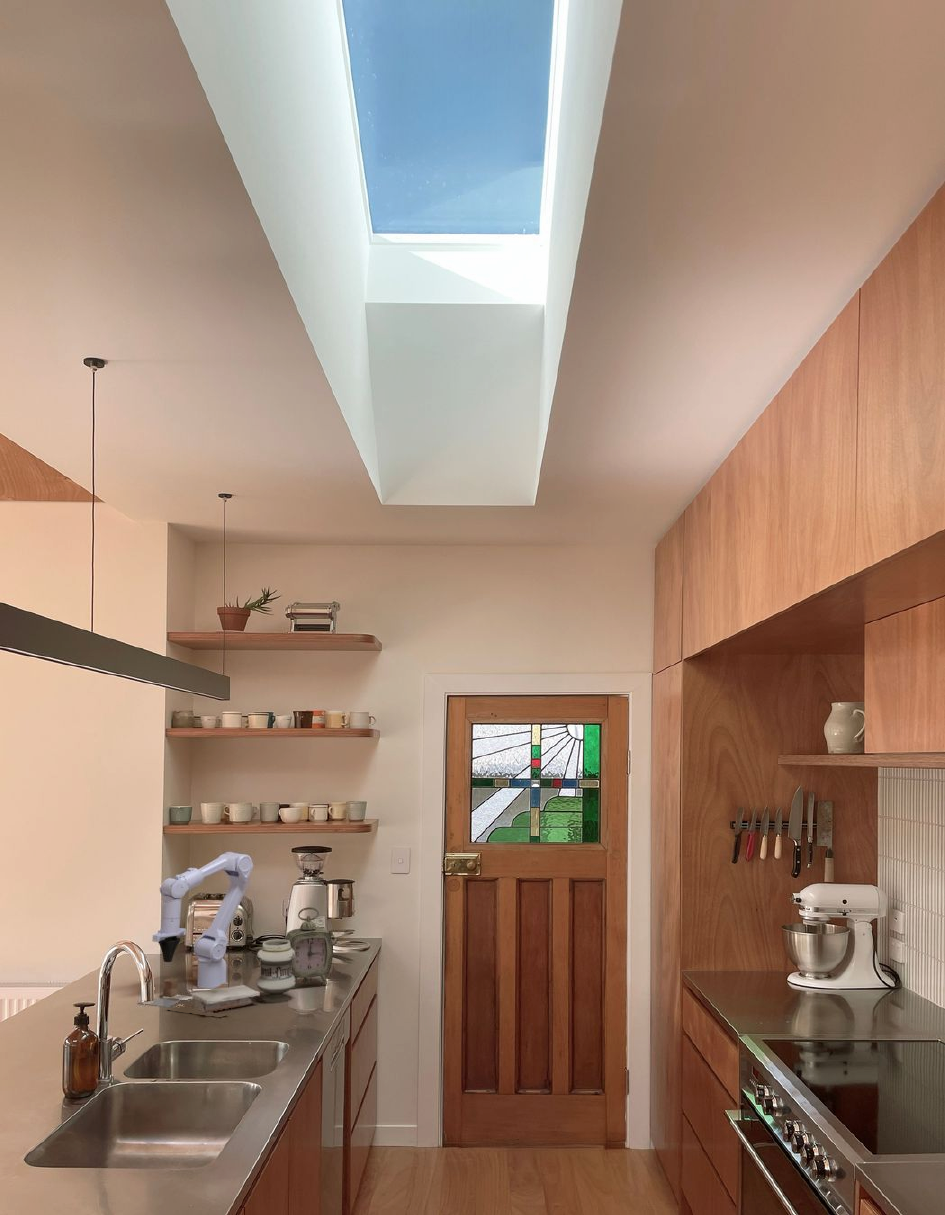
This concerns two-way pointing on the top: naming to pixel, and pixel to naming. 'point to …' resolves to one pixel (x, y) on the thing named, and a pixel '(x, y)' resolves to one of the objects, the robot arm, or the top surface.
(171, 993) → the brown and white block
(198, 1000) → the packaged product
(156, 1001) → the slate pad
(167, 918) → the robot arm
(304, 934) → the tabletop clock
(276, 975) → the apothecary jar
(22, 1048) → the top surface
